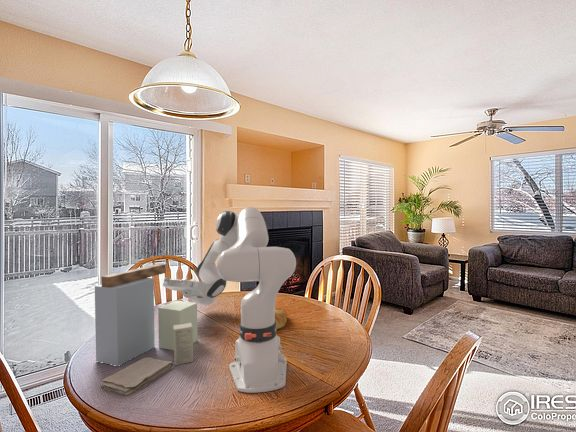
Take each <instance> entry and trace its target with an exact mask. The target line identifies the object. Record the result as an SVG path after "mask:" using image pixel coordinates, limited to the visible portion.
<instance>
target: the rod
mask: <svg viewBox="0 0 576 432" xmlns="http://www.w3.org/2000/svg"><path fill="white" fill-rule="evenodd" d="M166 270H167V265H166V264H164V263H156V264H152V265H148V266H143V267H138V268H133V269H129V270H125V271H121V272H115V273H111V274H107V275H103V276H101V284H102V287H108V288H110V287H114V286H117V285H121V284H125V283H129V282H133V281H137V280H140V279H144V278H153V277H154V276H159V275H163V274H166V273H167V271H166Z"/></svg>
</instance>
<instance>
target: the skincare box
mask: <svg viewBox="0 0 576 432" xmlns="http://www.w3.org/2000/svg"><path fill="white" fill-rule="evenodd" d="M173 336H174V350H173V359H174V362H173V363H174V366H176V365H177V366H178V365H181V364H187V363H192V362H194V343H193V330H192V323H185V324H178V325H173Z"/></svg>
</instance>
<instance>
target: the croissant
mask: <svg viewBox="0 0 576 432" xmlns="http://www.w3.org/2000/svg"><path fill="white" fill-rule="evenodd" d="M287 320H288V315H287V312H286V311H284V310H283V309H281V308H275V321H276V327H277V329H276V330H278V329H281V328H284V327H286V324H287Z"/></svg>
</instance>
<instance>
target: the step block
mask: <svg viewBox="0 0 576 432" xmlns="http://www.w3.org/2000/svg"><path fill="white" fill-rule="evenodd" d="M157 309H158V310H157V311H158V312H157V314H158V317H157V319H158V320H157V321H158V324H157V325H158V348H159V349H165V350H169V351H174V336H173V325H178V324H185V323H192V330H193V344H195V343H197V342H198V335H199V334H198V328H199V327H198V303H196V302H194V301H193V302H192V301H185V300H184V301H183V300H175V301H171V302H170V303H167V304H164V305H162V306H160V307H157Z"/></svg>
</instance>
